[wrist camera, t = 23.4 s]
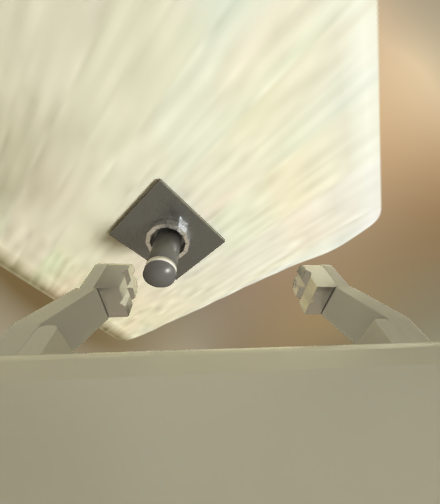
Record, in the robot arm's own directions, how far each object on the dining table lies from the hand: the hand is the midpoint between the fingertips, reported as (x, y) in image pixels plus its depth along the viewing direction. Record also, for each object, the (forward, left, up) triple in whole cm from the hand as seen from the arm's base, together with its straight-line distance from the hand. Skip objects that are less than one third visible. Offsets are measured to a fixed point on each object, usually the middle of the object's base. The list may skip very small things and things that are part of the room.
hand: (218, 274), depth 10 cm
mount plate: (+6, -17, -31) cm, 36 cm away
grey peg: (+6, -17, -30) cm, 35 cm away
